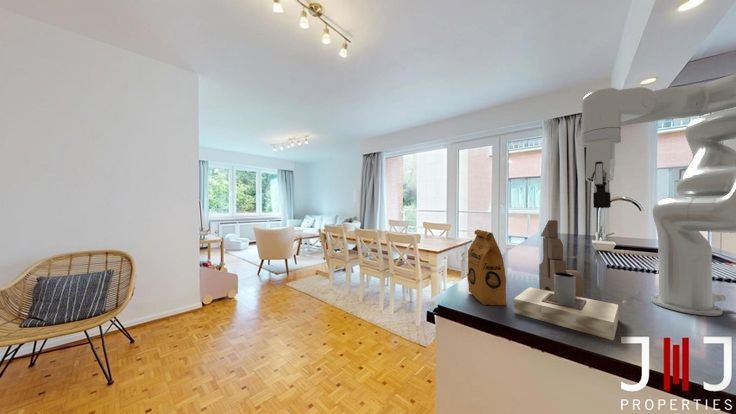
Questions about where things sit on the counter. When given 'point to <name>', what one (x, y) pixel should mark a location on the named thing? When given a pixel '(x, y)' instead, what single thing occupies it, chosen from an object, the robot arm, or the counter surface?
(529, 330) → the counter surface
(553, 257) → the wooden toy
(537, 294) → the rectangular box
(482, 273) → the coffee package
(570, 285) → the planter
